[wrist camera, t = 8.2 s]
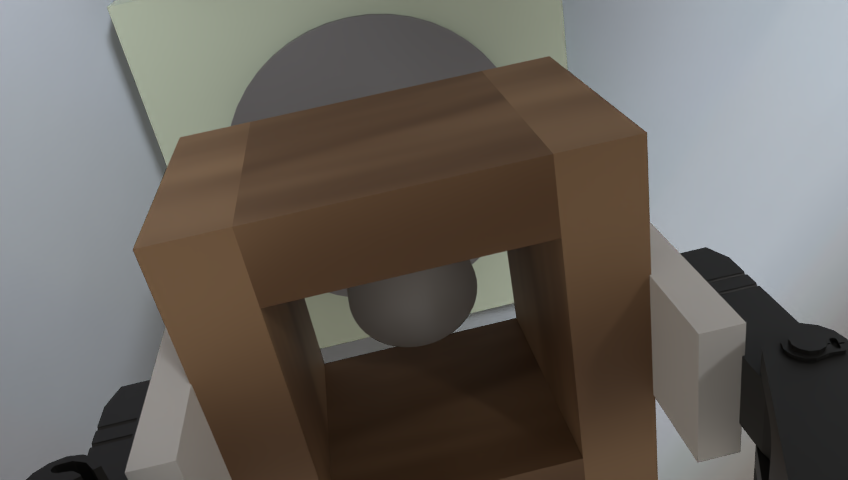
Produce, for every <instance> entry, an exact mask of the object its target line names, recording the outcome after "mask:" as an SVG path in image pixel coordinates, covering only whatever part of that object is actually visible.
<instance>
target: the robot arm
mask: <svg viewBox="0 0 848 480" xmlns="http://www.w3.org/2000/svg"><path fill="white" fill-rule="evenodd" d="M650 247H651V275H650V305H651V336H652V367H653V395H654V396H655V398H656V400H657V401H658V403H659V404H660V406H661V407H662V409H663V410H664V412H665V413H666V415H667V416H668V418H669V419H670V421H671V422H672V424H673V425H674V427H675V428H676V430H677V432H678V433H679V435H680V436H681V438H682V439H683V441H684V442H685V444H686V445H687V447H688V448H689V450H690V451H691V453H692V454H693V456H694V457H695V459H696V460H697V462H702V461H706V460H710V459H714V458H718V457H722V456H726V455H730V454H734V453H738V452H740V449H741V427H743V429H744V430H745V431H746V432H747V434H748V435H749V436H750V438H751V439H752V440H753V441H754V443H755V444H756V452H755V468H754V480H848V340H847V339H846V338H845V337H843V336H842V335H840V334H838V333H837V332H835V331H834V330H831V329H828V328H825V327H822V326H819V325H812V324H803V323H799V322H797V321H796V320H795V319H794V318H793V317H792V316H791V315H790V314H789V313H788V312H787V311H786V310H785V309H784V308H782V307H781V306H780V305H779V304H778V303H777V302H776V301H775V300H774V299H773V298H772V297H771V296H770V295H769V294H768V293H766V292H765V291H764V290H763V289H762V288H761V287H760V286H757V284H756V282H755V281H754V280H753V279H751V278H750V277H749V276H748V275H745V274H744V271H743V270H742V269H741V268H740V267H739V266H738V265H737V264H735V263H734V262H733V261H732V260H731V259H730V258H729V257H727V256H725V255H722V254H720V253H718V252H715V251H713V250H711V249H708V248H706V247H705V248H701V249H697V250H692V251H688V252H684V253H679V252H678V251H677V250H676V249H675V248H674V247H673V246H672V245H671V244H670V243H669V241H668V240H667V239H666V238H665V237H664V236H663V235H662V234H661V233H660V232H659V231H658V230H657V229H656V228H655V227H654V226H653V225H652V224H651V223H650ZM97 428H98V431H96V433H95V435H94V438H93V441H92V448H90V450H89V453H88V455H87V456H86V455H76V456H67V457H65V458H62V459H59V460H57V461H54V462H51V463H49V464H47V465H46V466H44V467H43V468H41V469H39V470H38V471H36V472H34V473H33V474H32V475H31V476H30V477H29V478H27V479H26V480H232V479H231V477H230V474H229V472H228V470H227V467H226V465H225V462H224V460H223V458H222V455H221V453H220V451H219V448H218V446H217V444H216V441H215V439H214V437H213V434H212V432H211V429H210V427H209V425H208V422H207V420H206V418H205V415H204V413H203V411H202V408H201V406H200V404H199V401H198V399H197V396H196V394H195V392H194V389H193V387H192V385H191V384H190V383H189V381H188V378H187V376H186V374H185V371H184V369H183V366H182V364H181V362H180V359H179V357H178V355H177V352H176V350H175V348H174V345H173V343H172V341H171V338H170V336H169V334H168V331H167V329H166V327H165V330H164V334H163V337H162V341H161V344H160V348H159V351H158V355H157V359H156V362H155V366H154V369H153V373H152V376H151V380H148V381H144V382H140V383H135V384H131V385H127V386H123V387H121V388H120V389H119V390H118V391H117V393H116V394H115V395H114V396H113V397H112V399H111V400H110V401H109V402H108V403H107V405H106V406H105V407H104V410H103V412H102V415H101V418H100V421H99V424H98V427H97Z"/></svg>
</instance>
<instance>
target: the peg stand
mask: <svg viewBox="0 0 848 480" xmlns="http://www.w3.org/2000/svg"><path fill="white" fill-rule="evenodd" d="M107 8H108V11H109V14H110V16H111V19H112V22H113V24H114V27H115V30H116V32H117V35H118V38H119V40H120V43H121V46H122V48H123V51H124V54H125V56H126V59H127V62H128V64H129V67H130V69H131V72H132V75H133V77H134V80H135V83H136V85H137V88H138V91H139V93H140V96H141V99H142V101H143V104H144V107H145V109H146V112H147V115H148V117H149V120H150V123H151V125H152V128H153V130H154V133H155V136H156V138H157V141H158V144H159V146H160V149H161V152H162V154H163V157H164V160H165V162H166V165H167V167H168V164H169V162H170V159H171V157H172V155H173V152H174V150H175V147H176V145H177V143H178V140H179V138H180V137H184V136H188V135H193V134H197V133H202V132H207V131H211V130H216V129H220V128H225V127H229V126H234V125H238V124H243V123H247V122H252V121H257V120H261V119H266V118H270V117H275V116H279V115H284V114H288V113H293V112H297V111H302V110H307V109H311V108H316V107H320V106H325V105H329V104H334V103H338V102H343V101H347V100H352V99H357V98H361V97H366V96H370V95H375V94H379V93H384V92H388V91H393V90H397V89H402V88H407V87H411V86H416V85H420V84H425V83H429V82H434V81H438V80H443V79H447V78H452V77H457V76H461V75H466V74H470V73H475V72H479V71H484V70H488V69H493V68H497V67H502V66H507V65H511V64H516V63H520V62H525V61H529V60H534V59H538V58H543V57H547V56H550V57H551V58H553V59H554V60H555V61H556V62H558V63H559V64H560V65H561V66H563V67H564V68H565V69H567V56H566V44H565V32H564V19H563V7H562V0H115V1H114V2H113V3H112V4H110V5H109V6H108V7H107ZM567 70H568V69H567ZM305 302H306V305H307V308H308V311H309V315H310V318H311V321H312V325H313V328H314V331H315V334H316V338H317V341H318V344H319V347H320V349H321V348H326V347H330V346H334V345H338V344H343V343H347V342H351V341H355V340H360V339H364V338H368V337H372V338H374V339H375V340H377V341H379V342H382V343H384V344H388V345H391V346H397V347H418V346H424V345H428V344H431V343H434V342H436V341H439V340H441V339H443V338H445V337H446V336H448V335H450V334H451V333H452V332H454V331H455V330H456V329H457V328H458V327H460V325H461V324H462V323H463V322H464V321H465V320H466V318H467V317H468V316H469V314H470V313H474V312H478V311H483V310H487V309H491V308H495V307H500V306H504V305H508V304H512V303H514V298H513V291H512V284H511V276H510V269H509V262H508V255H507V251H505V252H500V253H496V254H492V255H487V256H483V257H479V258H475V259H470V260H466V261H462V262H457V263H453V264H449V265H445V266H440V267H436V268H432V269H427V270H423V271H419V272H415V273H410V274H406V275H402V276H397V277H393V278H389V279H385V280H380V281H376V282H372V283H367V284H363V285H359V286H355V287H350V288H346V289H342V290H337V291H333V292H329V293H325V294H320V295H316V296H312V297H307V298H305Z"/></svg>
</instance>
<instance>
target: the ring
mask: <svg viewBox="0 0 848 480" xmlns="http://www.w3.org/2000/svg"><path fill="white" fill-rule="evenodd" d="M133 251H134V254H135V256H136V258H137V261H138V263H139V265H140V268H141V270H142V272H143V275H144V277H145V279H146V282H147V284H148V287H149V289H150V291H151V294H152V296H153V298H154V301H155V303H156V305H157V308H158V310H159V312H160V315H161V317H162V319H163V322H164V324H165V327H166V329H167V331H168V334H169V336H170V338H171V341H172V343H173V345H174V348H175V350H176V352H177V355H178V357H179V359H180V362H181V364H182V366H183V369H184V371H185V374H186V376H187V378H188V381H189V383H190V384H191V385H192V387H193V389H194V392H195V394H196V396H197V399H198V401H199V404H200V406H201V408H202V411H203V413H204V415H205V418H206V420H207V422H208V425H209V427H210V429H211V432H212V434H213V437H214V439H215V441H216V444H217V446H218V448H219V451H220V453H221V455H222V458H223V460H224V462H225V465H226V467H227V470H228V472H229V474H230V477H231V479H232V480H658V472H657V440H656V408H655V396H654V395H653V367H652V336H651V305H650V275H651V247H650V215H649V183H648V151H647V132H645V131H644V130H643V129H642V128H640V127H639V126H638V125H637V124H635V123H634V122H633V121H631V120H630V119H629V118H628V117H626V116H625V115H624V114H623V113H621V112H620V111H619V110H617V109H616V108H615V107H614V106H612V105H611V104H610V103H609V102H607V101H606V100H605V99H603V98H602V97H601V96H600V95H598V94H597V93H596V92H595V91H593V90H592V89H591V88H589V87H588V86H587V85H586V84H584V83H583V82H582V81H581V80H579V79H578V78H577V77H575V76H574V75H573V74H572V73H570V72H569V71H568V70H567V69H565V68H564V67H563V66H561V65H560V64H559V63H558V62H556V61H555V60H554V59H553V58H551V57H550V56H547V57H543V58H538V59H534V60H529V61H525V62H520V63H516V64H511V65H507V66H502V67H497V68H493V69H488V70H484V71H479V72H475V73H470V74H466V75H461V76H457V77H452V78H447V79H443V80H438V81H434V82H429V83H425V84H420V85H416V86H411V87H407V88H402V89H397V90H393V91H388V92H384V93H379V94H375V95H370V96H366V97H361V98H357V99H352V100H347V101H343V102H338V103H334V104H329V105H325V106H320V107H316V108H311V109H307V110H302V111H297V112H293V113H288V114H284V115H279V116H275V117H270V118H266V119H261V120H257V121H252V122H247V123H243V124H238V125H234V126H229V127H225V128H220V129H216V130H211V131H207V132H202V133H197V134H193V135H188V136H184V137H180V138H179V140H178V143H177V145H176V147H175V150H174V152H173V155H172V157H171V159H170V162H169V164H168V167H167V169H166V171H165V174H164V176H163V178H162V181H161V183H160V186H159V188H158V190H157V193H156V195H155V198H154V200H153V202H152V205H151V207H150V210H149V212H148V214H147V217H146V219H145V221H144V224H143V226H142V229H141V231H140V233H139V236H138V238H137V241H136V243H135V245H134V248H133ZM505 251H507V255H508V262H509V269H510V276H511V284H512V291H513V298H514V305H515V312H516V318H515V319H510V320H506V321H502V322H498V323H494V324H489V325H485V326H481V327H477V328H473V329H468V330H464V331H460V332H456V333H452V334H450V335H448V336H446V337H445V338H443V339H441V340H439V341H436V342H434V343H431V344H428V345H424V346H418V347H393V348H389V349H384V350H380V351H376V352H372V353H368V354H363V355H359V356H355V357H351V358H347V359H342V360H338V361H334V362H330V363H326V364H324V360H323V357H322V354H321V351H320V347H319V344H318V341H317V338H316V334H315V331H314V328H313V325H312V321H311V318H310V315H309V311H308V308H307V305H306V302H305V298H307V297H312V296H316V295H320V294H325V293H329V292H333V291H337V290H342V289H346V288H350V287H355V286H359V285H363V284H367V283H372V282H376V281H380V280H385V279H389V278H393V277H397V276H402V275H406V274H410V273H415V272H419V271H423V270H427V269H432V268H436V267H440V266H445V265H449V264H453V263H457V262H462V261H466V260H470V259H475V258H479V257H483V256H487V255H492V254H496V253H500V252H505Z"/></svg>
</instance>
